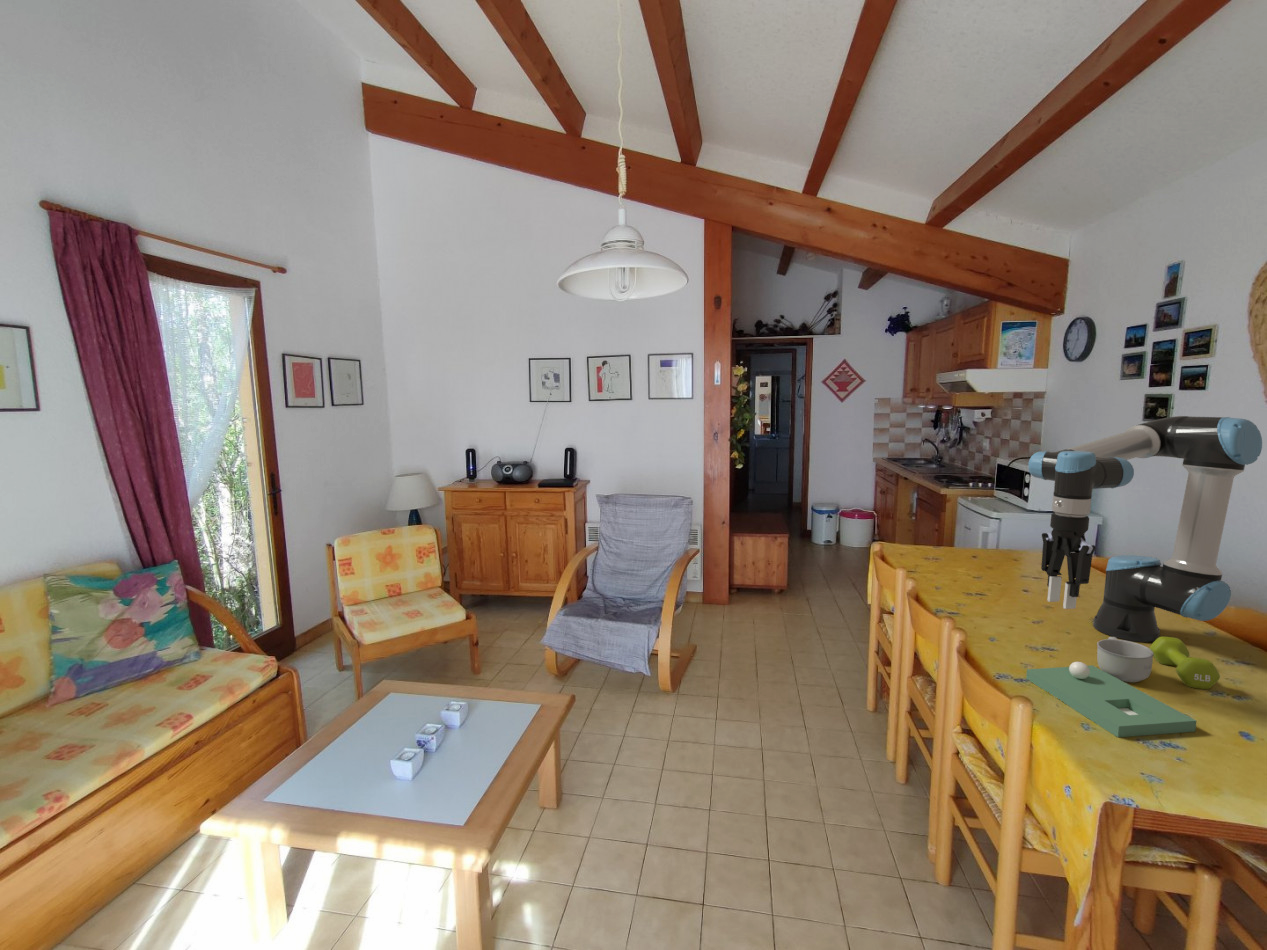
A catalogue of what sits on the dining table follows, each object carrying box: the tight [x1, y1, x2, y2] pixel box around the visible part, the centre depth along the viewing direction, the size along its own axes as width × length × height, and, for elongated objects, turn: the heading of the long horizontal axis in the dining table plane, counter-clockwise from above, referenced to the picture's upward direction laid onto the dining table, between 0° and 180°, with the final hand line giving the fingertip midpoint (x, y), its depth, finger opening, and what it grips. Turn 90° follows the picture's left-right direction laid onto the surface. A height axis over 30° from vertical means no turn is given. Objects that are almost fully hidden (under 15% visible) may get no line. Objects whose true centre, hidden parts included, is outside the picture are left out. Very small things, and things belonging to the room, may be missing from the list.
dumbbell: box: [1149, 636, 1221, 690], centre depth 146 cm, size 16×8×7 cm, turn 160°
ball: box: [1068, 661, 1090, 679], centre depth 140 cm, size 4×4×4 cm
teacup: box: [1096, 636, 1154, 683], centre depth 146 cm, size 14×11×8 cm
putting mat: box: [1025, 665, 1198, 738], centre depth 133 cm, size 18×25×2 cm
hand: (1061, 604), depth 145 cm, fingers open, 4 cm apart
